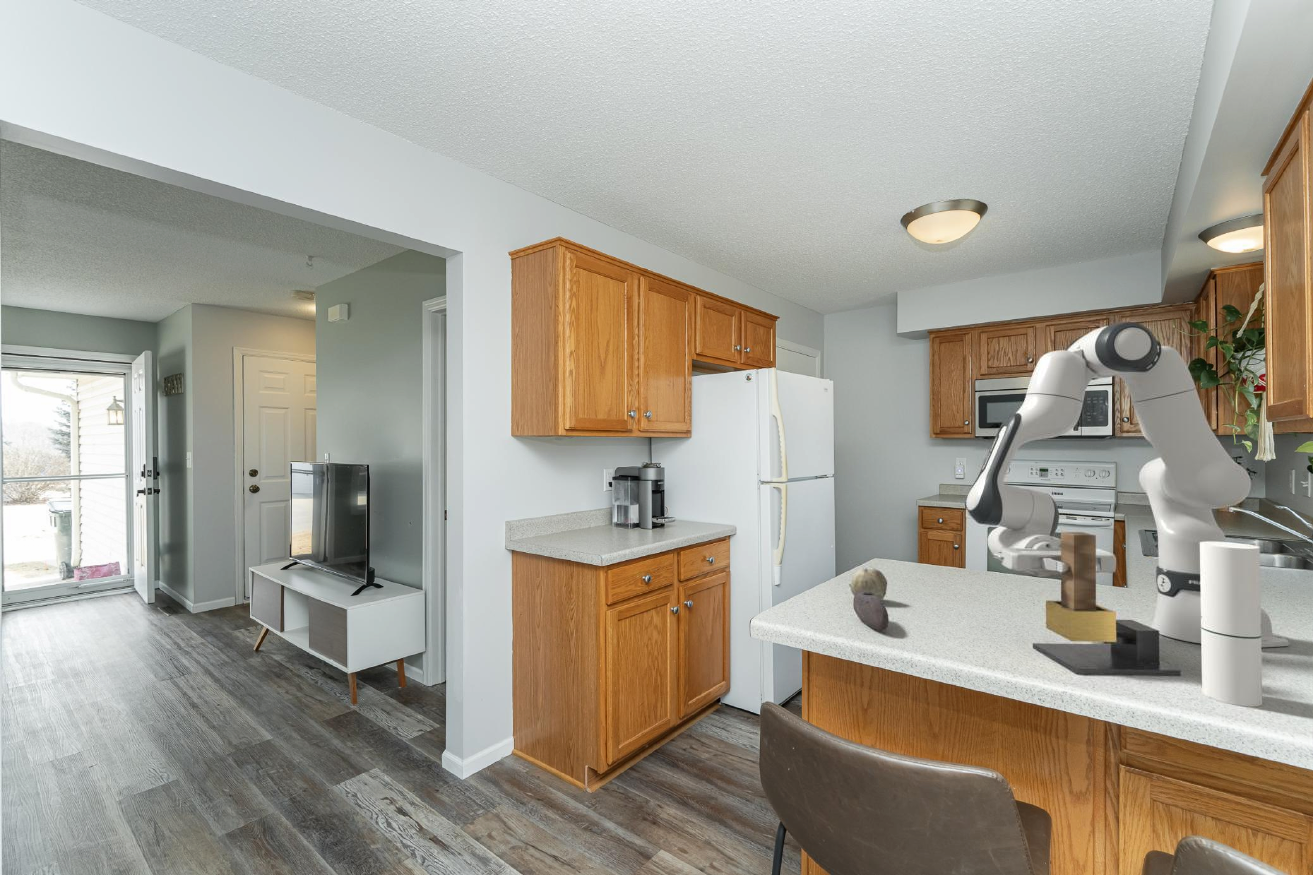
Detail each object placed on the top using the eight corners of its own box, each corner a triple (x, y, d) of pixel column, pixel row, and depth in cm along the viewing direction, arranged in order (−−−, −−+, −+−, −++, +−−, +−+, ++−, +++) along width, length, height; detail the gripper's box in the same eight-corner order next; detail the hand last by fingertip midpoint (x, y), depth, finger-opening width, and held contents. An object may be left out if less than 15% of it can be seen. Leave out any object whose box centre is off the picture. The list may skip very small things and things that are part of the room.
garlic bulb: (885, 611, 159) (899, 577, 157) (864, 610, 155) (877, 575, 153) (860, 593, 167) (872, 560, 165) (838, 591, 163) (851, 558, 161)
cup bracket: (1124, 649, 122) (1123, 597, 122) (1180, 676, 108) (1179, 617, 108) (1032, 648, 123) (1032, 596, 123) (1076, 674, 109) (1075, 616, 109)
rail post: (1082, 613, 118) (1082, 532, 118) (1096, 620, 114) (1096, 535, 114) (1060, 613, 118) (1060, 531, 118) (1073, 619, 114) (1073, 535, 114)
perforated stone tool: (896, 636, 131) (895, 604, 131) (871, 636, 131) (871, 604, 131) (873, 617, 146) (873, 588, 146) (851, 616, 146) (851, 588, 146)
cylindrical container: (1260, 696, 99) (1257, 544, 99) (1264, 710, 94) (1261, 550, 94) (1201, 685, 104) (1199, 540, 104) (1202, 698, 99) (1199, 545, 99)
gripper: (989, 539, 129) (1024, 551, 116) (1088, 540, 128) (1136, 552, 114) (989, 568, 129) (1024, 583, 116) (1088, 570, 128) (1136, 585, 114)
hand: (1081, 568), depth 115 cm, fingers closed on rail post, 4 cm apart
